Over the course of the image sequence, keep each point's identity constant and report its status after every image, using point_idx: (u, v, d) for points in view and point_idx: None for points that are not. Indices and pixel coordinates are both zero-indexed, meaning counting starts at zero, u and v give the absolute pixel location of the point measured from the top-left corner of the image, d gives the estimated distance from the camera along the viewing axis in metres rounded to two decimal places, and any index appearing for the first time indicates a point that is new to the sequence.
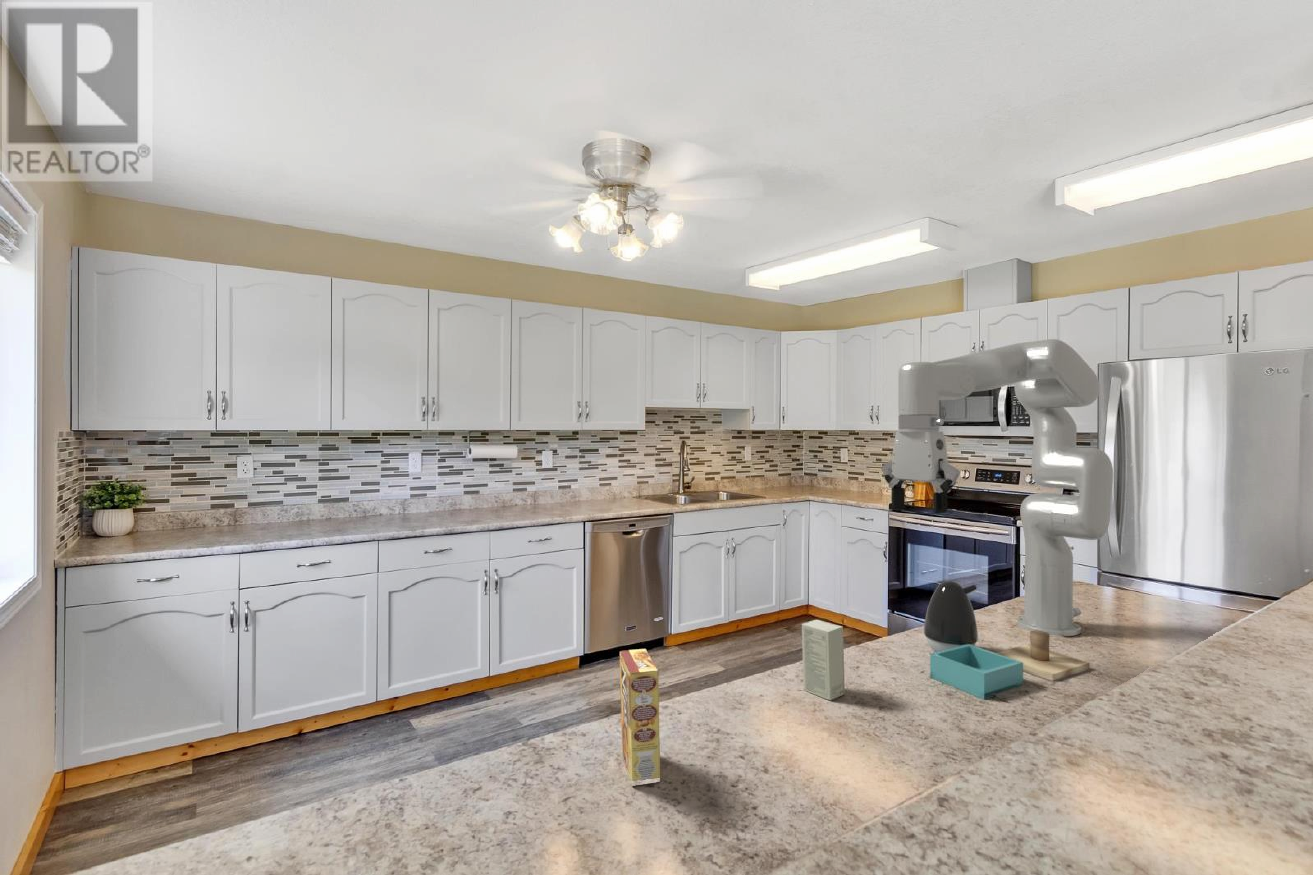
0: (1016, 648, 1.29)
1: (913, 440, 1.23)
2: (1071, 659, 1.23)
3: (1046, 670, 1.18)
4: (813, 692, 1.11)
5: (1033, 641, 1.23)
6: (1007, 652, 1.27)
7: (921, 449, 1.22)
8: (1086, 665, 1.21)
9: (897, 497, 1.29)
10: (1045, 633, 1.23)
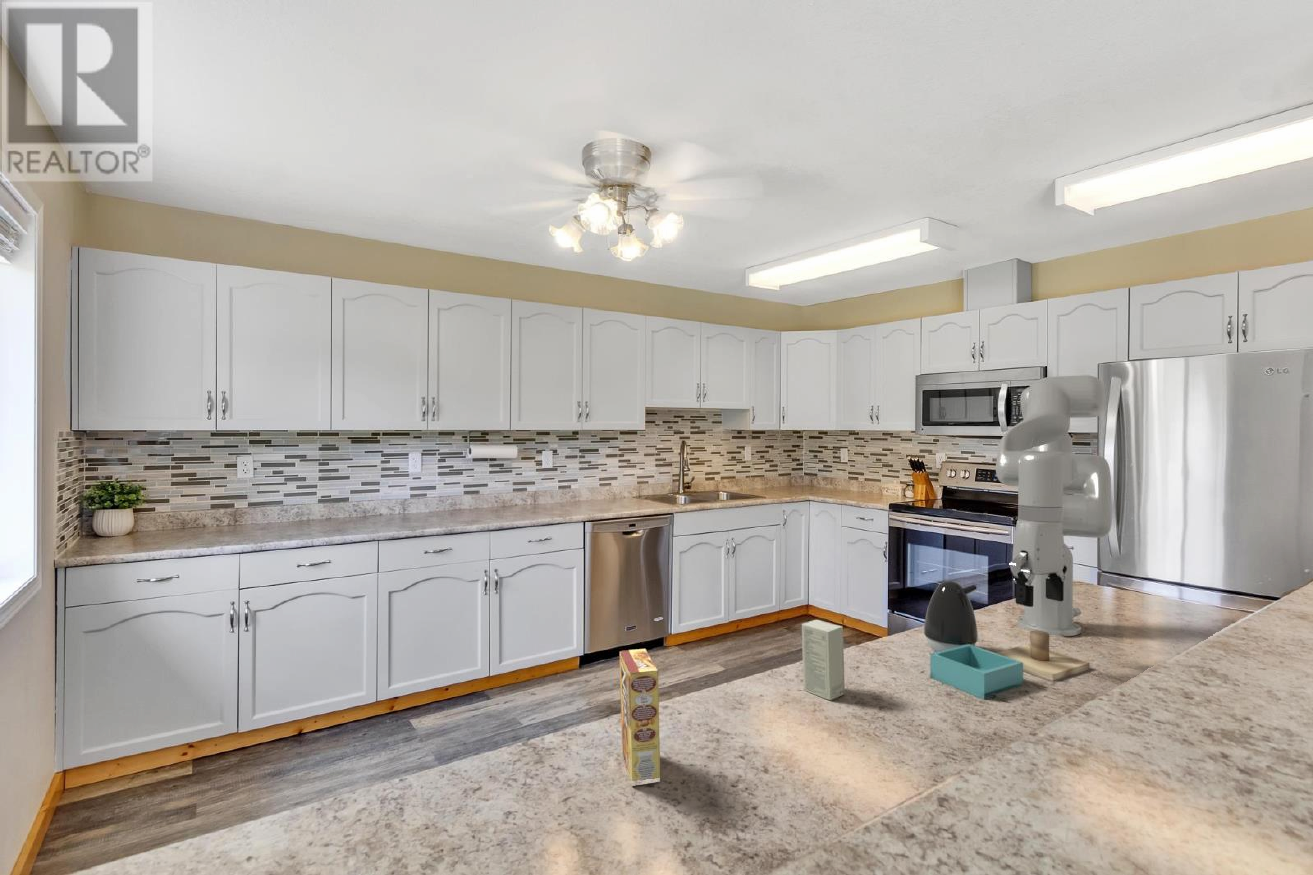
0: (1016, 648, 1.29)
1: (1055, 532, 1.21)
2: (1071, 659, 1.23)
3: (1046, 670, 1.18)
4: (813, 692, 1.11)
5: (1033, 641, 1.23)
6: (1007, 652, 1.27)
7: (1059, 540, 1.22)
8: (1086, 665, 1.21)
9: None
10: (1045, 633, 1.23)
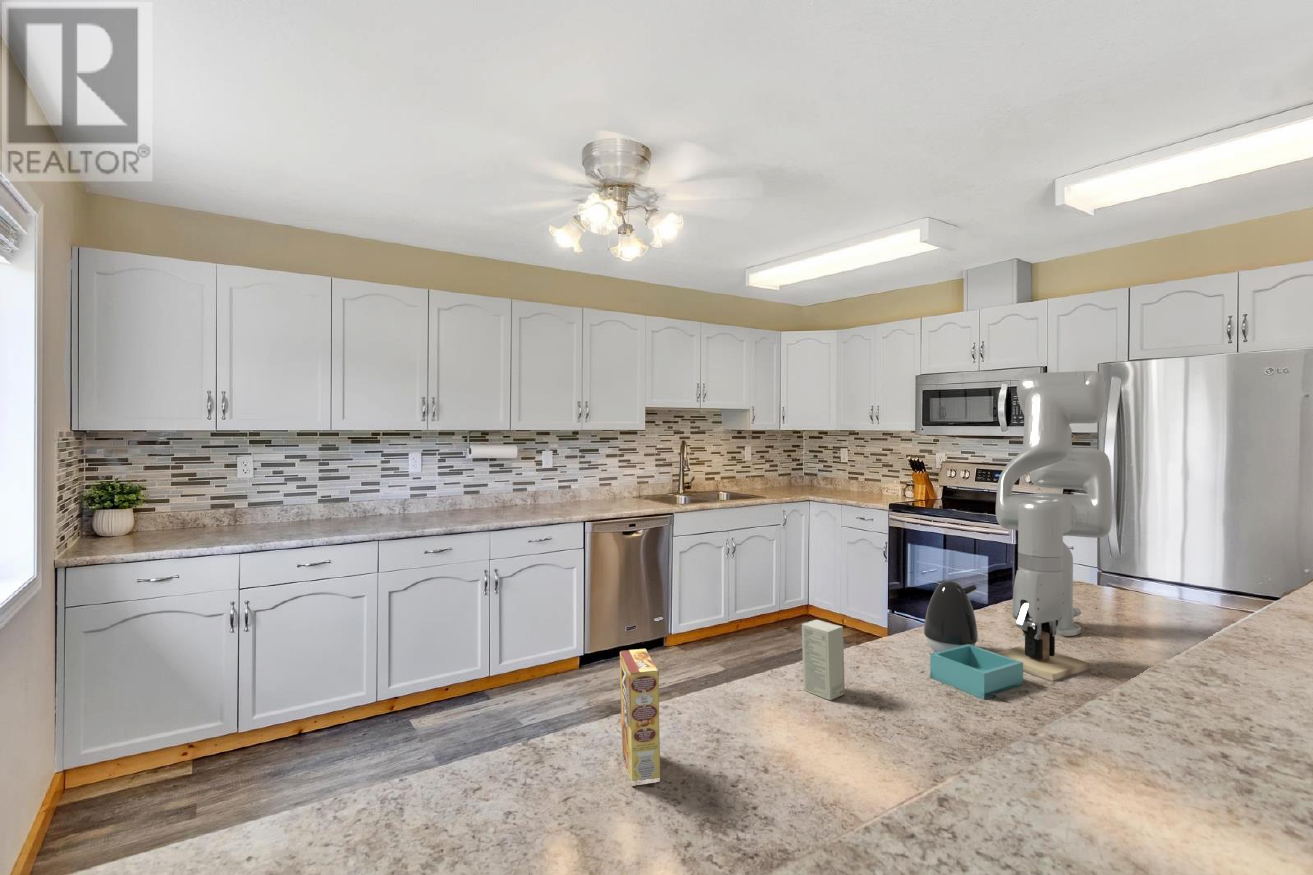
0: (1016, 648, 1.29)
1: (1055, 581, 1.22)
2: (1071, 659, 1.23)
3: (1046, 670, 1.18)
4: (813, 692, 1.11)
5: None
6: (1007, 652, 1.27)
7: (1059, 588, 1.23)
8: (1086, 665, 1.21)
9: None
10: (1045, 633, 1.23)
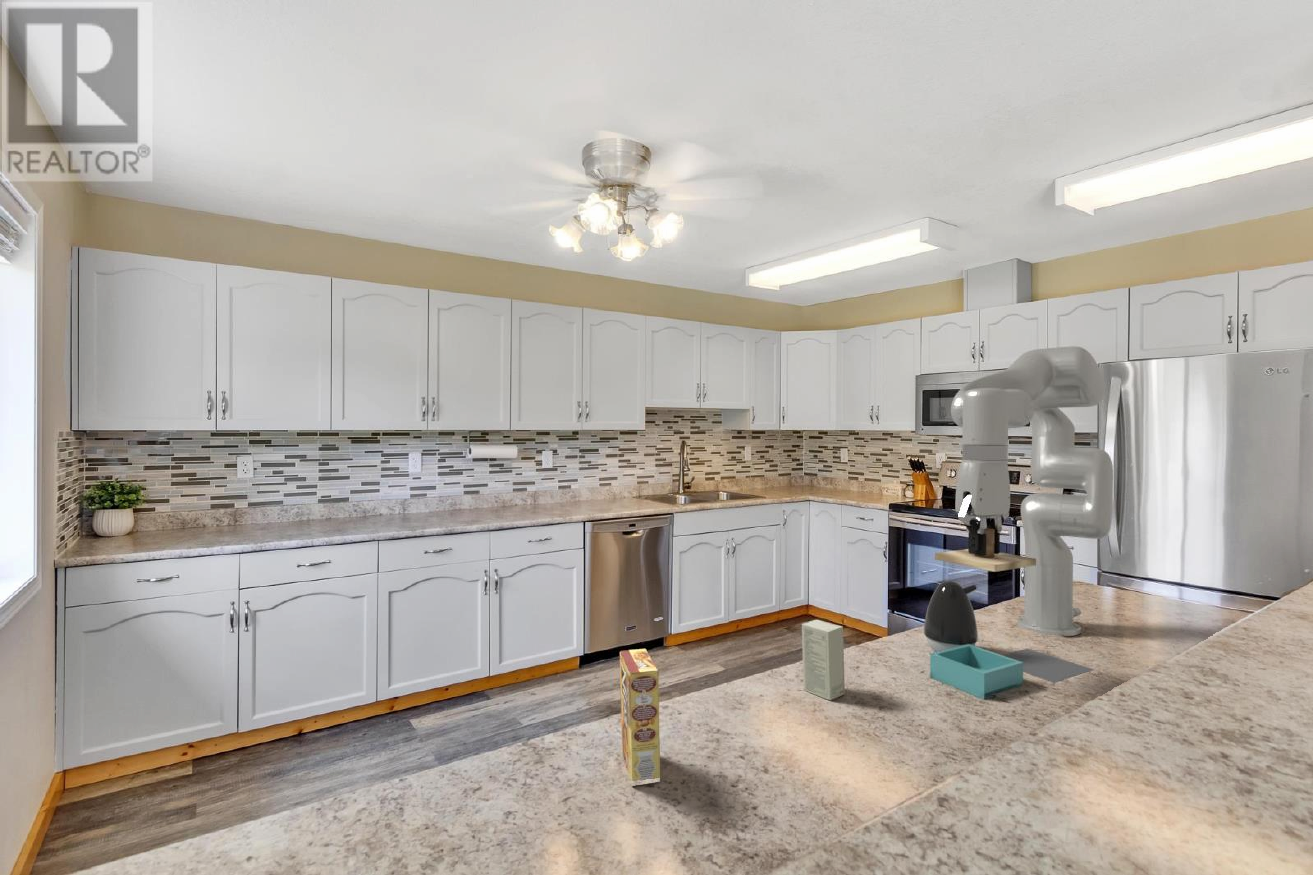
0: (962, 550, 1.22)
1: (1000, 472, 1.15)
2: (1017, 556, 1.16)
3: (988, 562, 1.10)
4: (813, 692, 1.11)
5: None
6: (951, 552, 1.20)
7: (1005, 481, 1.16)
8: (1032, 561, 1.14)
9: None
10: (990, 529, 1.16)
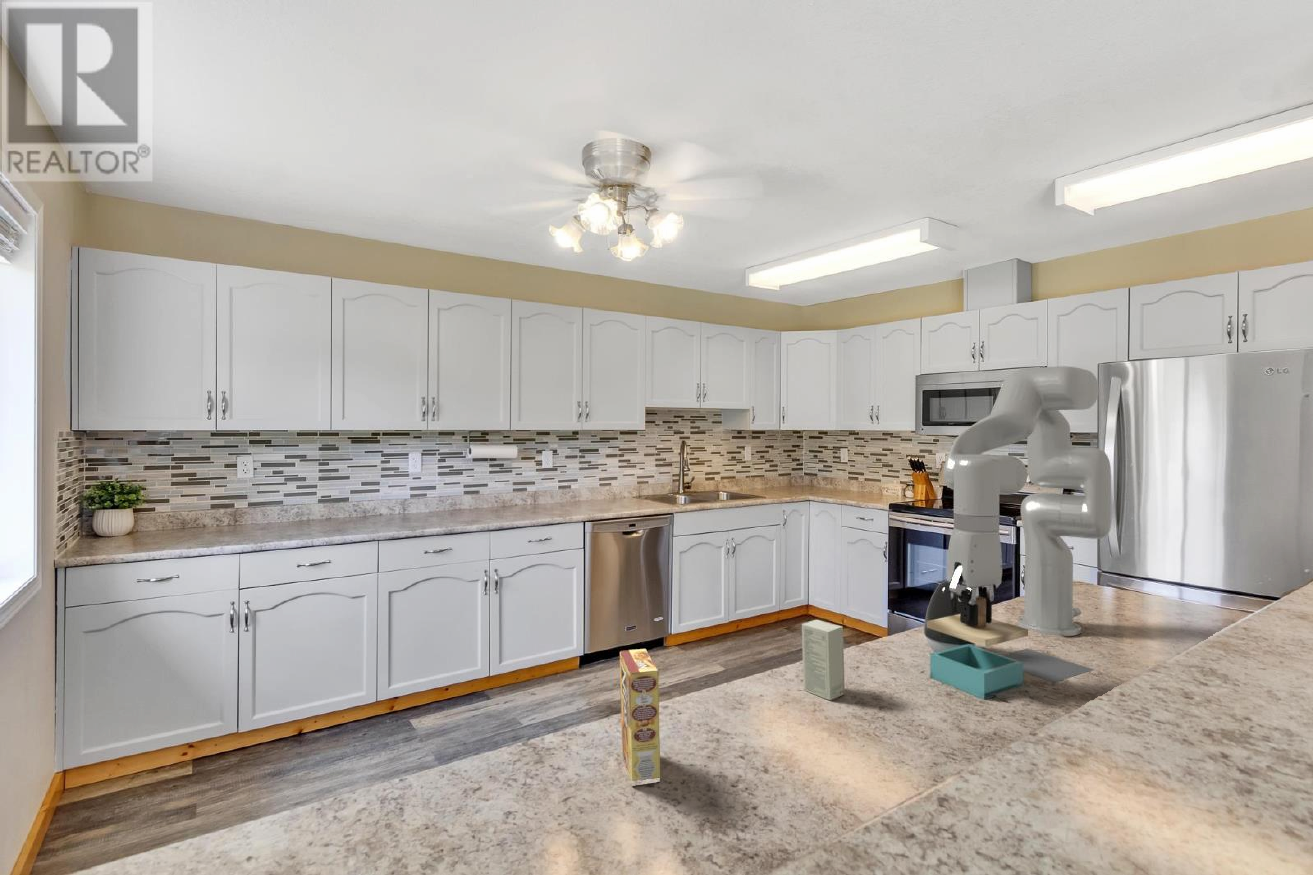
0: (954, 616, 1.22)
1: (991, 542, 1.14)
2: (1009, 626, 1.15)
3: (979, 636, 1.10)
4: (813, 692, 1.11)
5: None
6: (943, 620, 1.19)
7: (996, 551, 1.15)
8: (1024, 632, 1.13)
9: None
10: (982, 598, 1.16)
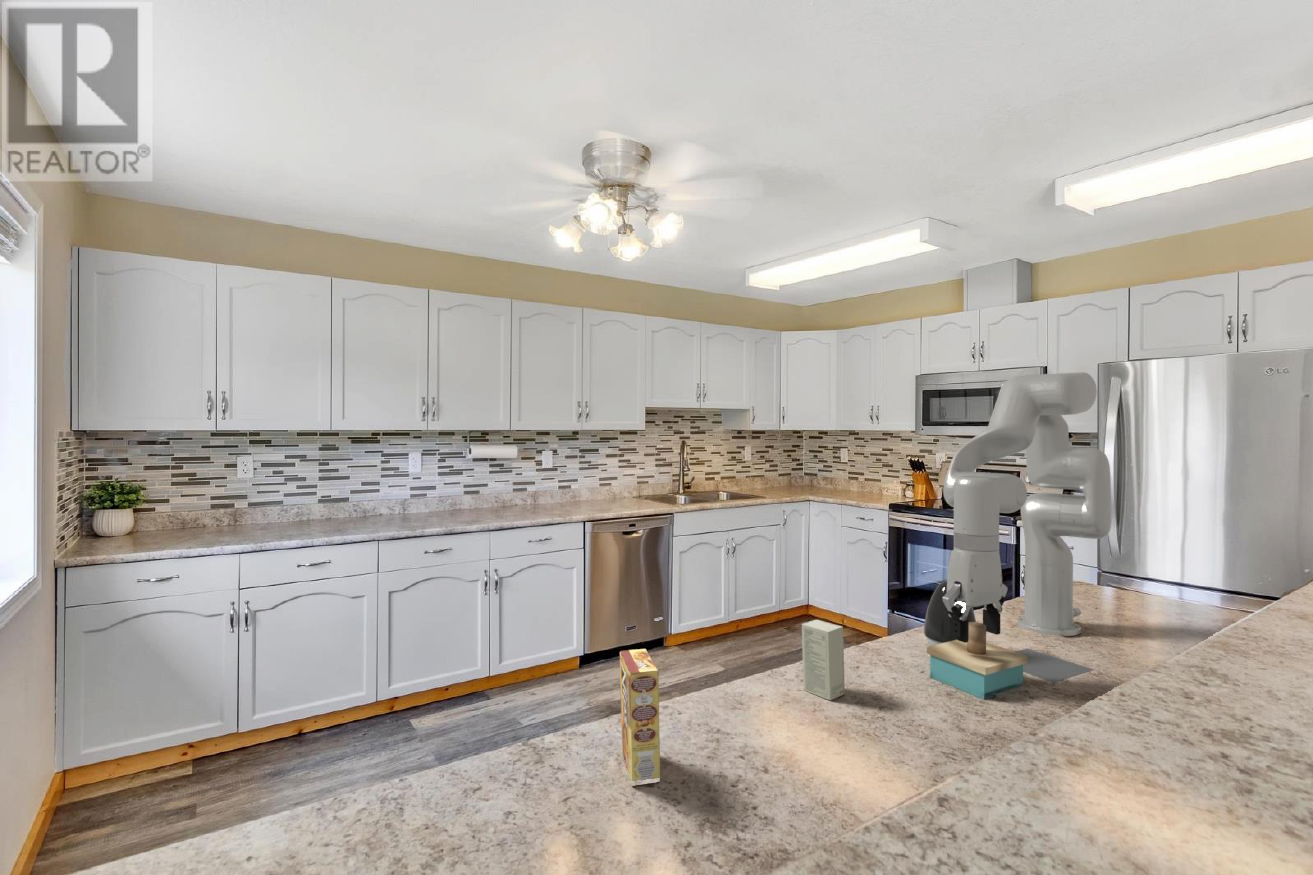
0: (954, 641, 1.22)
1: (991, 561, 1.14)
2: (1009, 652, 1.15)
3: (980, 664, 1.10)
4: (813, 692, 1.11)
5: (969, 633, 1.16)
6: (943, 645, 1.19)
7: (996, 570, 1.15)
8: (1024, 659, 1.13)
9: None
10: (982, 625, 1.16)
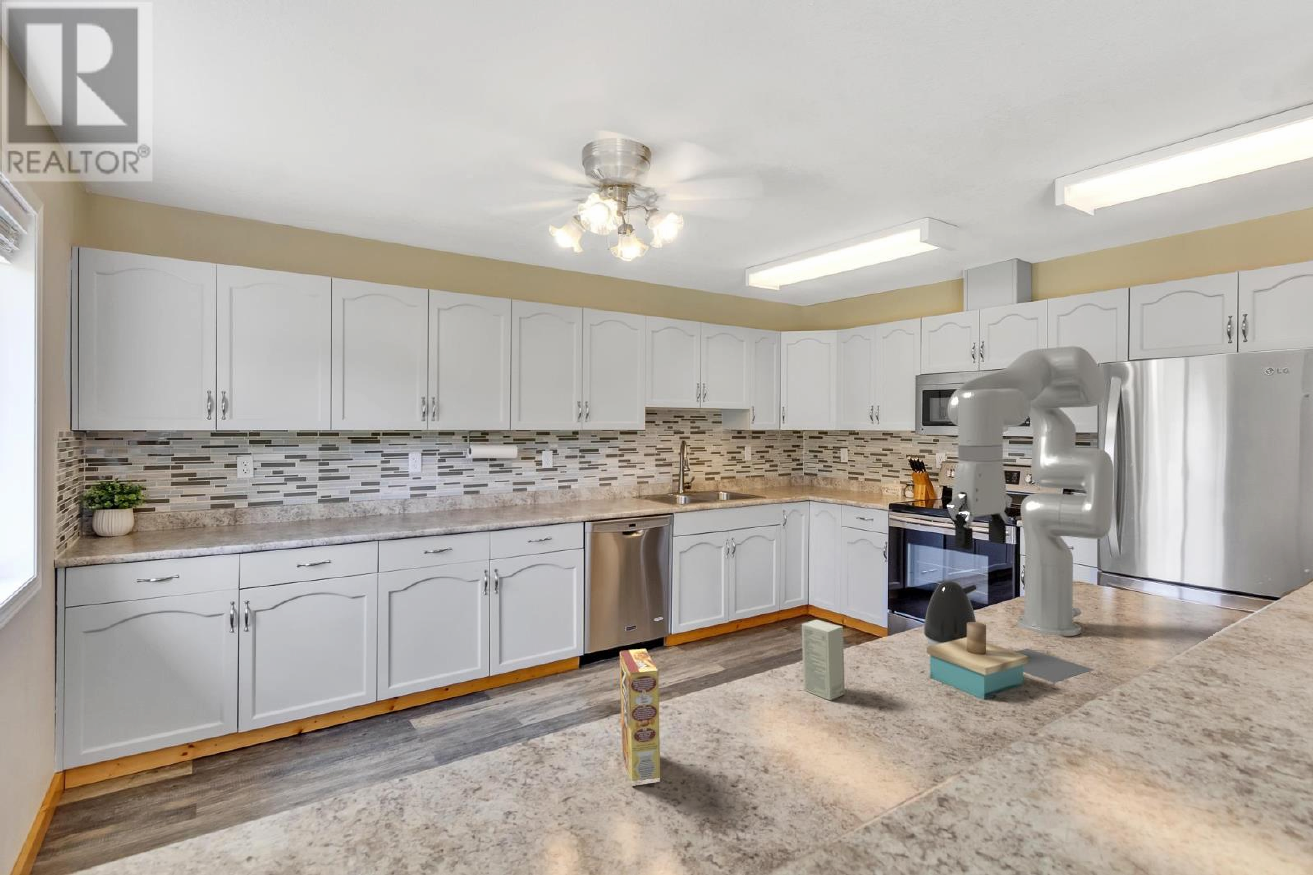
0: (954, 641, 1.22)
1: (995, 472, 1.16)
2: (1009, 652, 1.15)
3: (980, 664, 1.10)
4: (813, 692, 1.11)
5: (969, 633, 1.16)
6: (943, 645, 1.19)
7: (1000, 480, 1.17)
8: (1024, 659, 1.13)
9: None
10: (982, 625, 1.16)
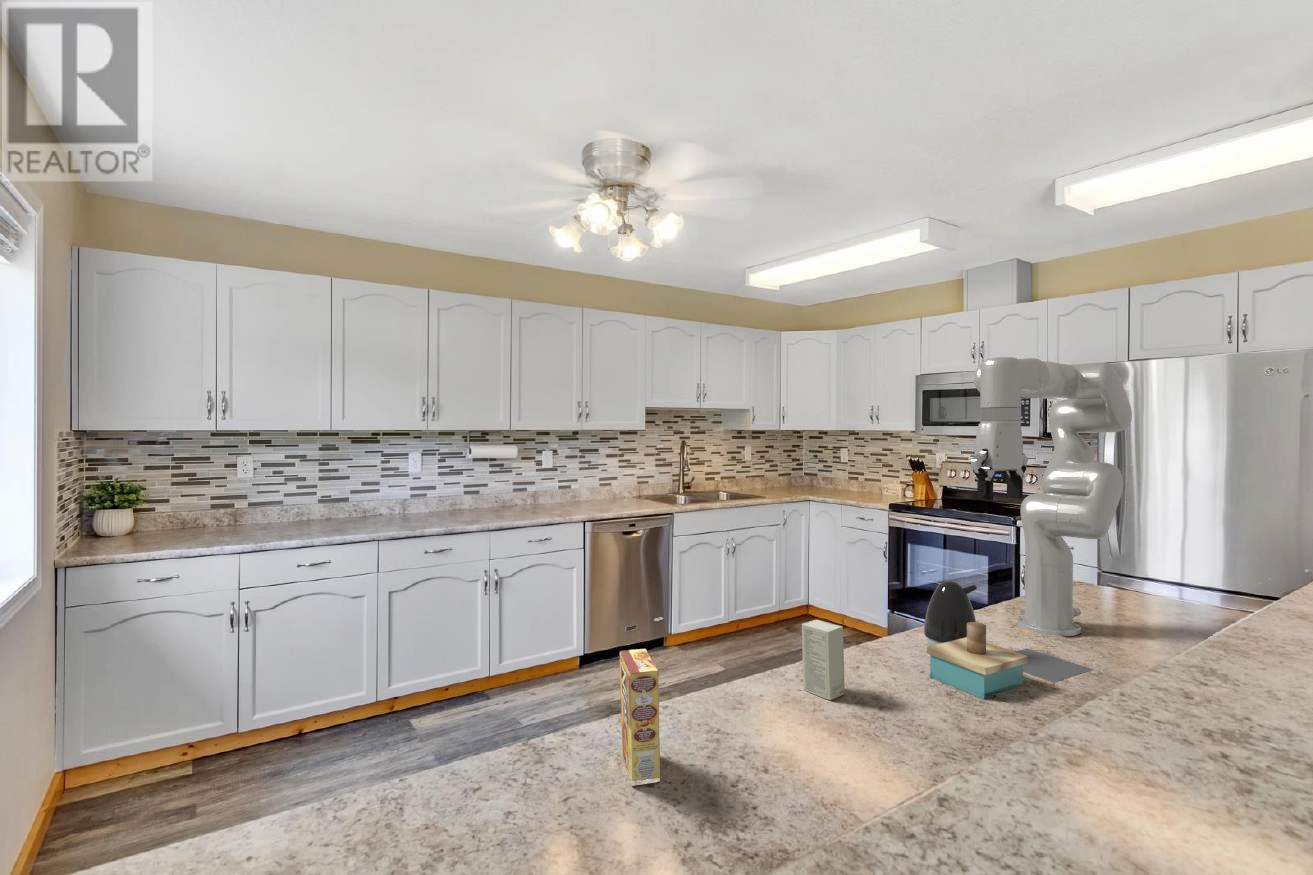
0: (954, 641, 1.22)
1: (1014, 431, 1.30)
2: (1009, 652, 1.15)
3: (980, 664, 1.10)
4: (813, 692, 1.11)
5: (969, 633, 1.16)
6: (943, 645, 1.19)
7: (1018, 439, 1.31)
8: (1024, 659, 1.13)
9: None
10: (982, 625, 1.16)
